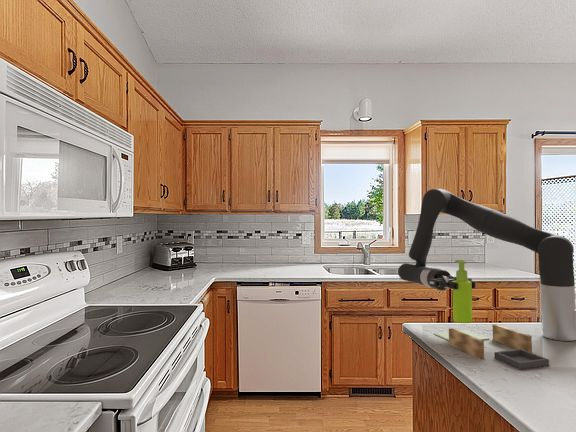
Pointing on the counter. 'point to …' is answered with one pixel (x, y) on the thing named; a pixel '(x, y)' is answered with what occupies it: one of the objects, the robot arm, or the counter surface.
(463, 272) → the soap dispenser
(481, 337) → the mat
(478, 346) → the oak channel
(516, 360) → the pit tray
